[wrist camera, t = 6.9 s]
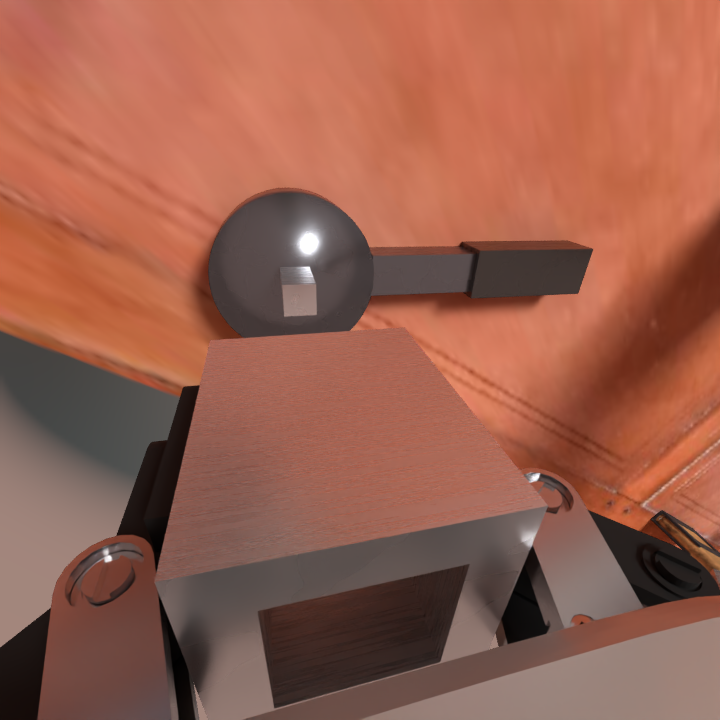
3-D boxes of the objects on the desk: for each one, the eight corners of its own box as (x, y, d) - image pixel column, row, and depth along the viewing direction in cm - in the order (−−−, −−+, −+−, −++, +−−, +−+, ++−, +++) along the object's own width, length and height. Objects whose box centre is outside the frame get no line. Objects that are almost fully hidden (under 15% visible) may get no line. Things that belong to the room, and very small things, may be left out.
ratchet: (581, 193, 25) (655, 205, 20) (543, 320, 29) (596, 353, 25) (201, 185, 20) (182, 199, 15) (224, 339, 24) (216, 385, 20)
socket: (404, 327, 10) (548, 505, 5) (390, 462, 13) (478, 672, 8) (210, 340, 9) (154, 582, 4) (235, 485, 12) (219, 749, 7)
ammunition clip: (693, 528, 53) (794, 619, 43) (682, 537, 54) (779, 628, 44) (661, 509, 49) (767, 606, 38) (650, 519, 49) (751, 616, 39)
